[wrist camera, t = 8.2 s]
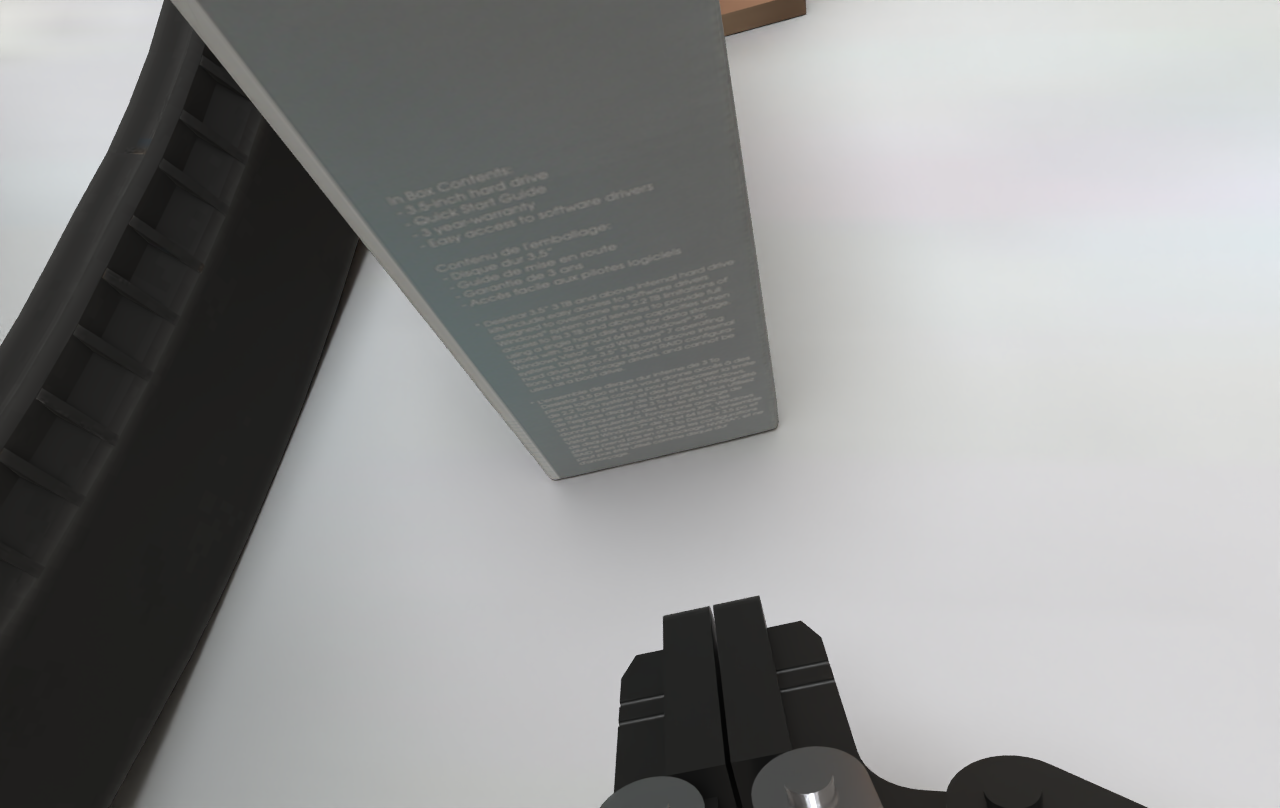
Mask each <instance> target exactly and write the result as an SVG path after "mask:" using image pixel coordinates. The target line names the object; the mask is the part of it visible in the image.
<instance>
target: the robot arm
mask: <svg viewBox="0 0 1280 808" xmlns="http://www.w3.org/2000/svg"><path fill="white" fill-rule="evenodd" d="M713 610H714V618H713V614H712V611H711V608H710V606H708V607H703V608H698V609H694V610H689V611H684V612H680V613H675V614H670V615H665V616H664V617H663V650H660V651H655V652H650V653H645V654H640V655H636V656H635V658H634V659H633V661H632V663H631V664H630V666H629V667H628V669H627V671H626V672H625V674H624V675H623V677H622V679H621V692H620V705H621V707H620V708H619V727H618V739H617V754H616V769H615V785H614V794H613V795H611V796H610V797H609V798H608V799H607V800H606V801H605V802H604V803H603V804H602V806H601V807H600V808H1147V807H1145V806H1143V805H1141V804H1138V803H1136V802H1134V801H1132V800H1129V799H1127V798H1125V797H1123V796H1120V795H1118V794H1116V793H1114V792H1111V791H1109V790H1107V789H1105V788H1102V787H1100V786H1098V785H1096V784H1093V783H1091V782H1089V781H1086V780H1084V779H1082V778H1080V777H1077V776H1075V775H1073V774H1071V773H1068V772H1066V771H1064V770H1062V769H1059V768H1057V767H1055V766H1053V765H1050V764H1048V763H1045V762H1043V761H1040V760H1037V759H1033V758H1028V757H1022V756H995V757H989V758H985V759H981V760H979V761H976V762H973V763H971V764H970V765H968V766H966V767H964V768H963V769H962V770H961V771H959V772H958V773H957V774H956V775H955V776H954V778H953V779H952V780H951V782H950V784H949V786H948V789H947V792H943V791H927V790H917V789H910V788H906V787H901V786H898V785H895V784H893V783H890V782H888V781H886V780H884V779H882V778H880V777H878V776H877V775H876V774H874V773H873V772H872V771H870V770H869V769H868V768H867V767H866V766H865V764H864V763H863V761H862V760H861V759H860V756H859V754H858V752H857V749H856V746H855V743H854V739H853V736H852V733H851V730H850V727H849V724H848V721H847V717H846V714H845V711H844V708H843V705H842V702H841V698H840V695H839V692H838V689H837V686H836V683H835V680H834V676H833V673H832V670H831V667H830V664H829V661H828V657H827V654H826V651H825V648H824V645H823V642H822V638H821V637H820V636H819V635H818V634H817V633H815V632H814V631H813V630H812V629H810V628H809V627H808V626H807V625H806V624H804V623H803V622H802V621H798V622H793V623H788V624H783V625H779V626H774V627H769V628H767V625H766V621H765V617H764V613H763V609H762V604H761V600H760V597H759V596H754V597H750V598H745V599H740V600H735V601H731V602H726V603H721V604H716V605H713ZM714 619H715V621H714Z"/></svg>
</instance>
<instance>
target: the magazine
mask: <svg viewBox="0 0 1280 808" xmlns="http://www.w3.org/2000/svg"><path fill="white" fill-rule="evenodd" d="M358 240H359V237H358V235H357V234H356V233H355V232H354V230H353V229H352V228H351V227H350V225H349V224H348V223H347V222H346V220H345V219H344V218H343V216H342V215H341V214H340V213H339V211H338V210H337V209H336V208H335V206H334V205H333V204H332V203H331V201H330V200H329V199H328V197H327V196H326V195H325V194H324V192H323V191H322V190H321V189H320V187H319V186H318V185H317V184H316V182H315V181H314V180H313V179H312V177H311V176H310V175H309V173H308V172H307V171H306V170H305V168H304V167H303V166H302V165H301V163H300V162H299V161H298V160H297V158H296V157H295V156H294V155H293V153H292V152H291V151H290V149H289V148H288V147H287V146H286V144H285V143H284V142H283V141H282V139H281V138H280V137H279V136H278V134H277V133H276V132H275V131H274V129H273V128H272V127H271V126H270V124H269V123H268V122H267V120H266V119H265V118H264V117H263V115H262V114H261V113H260V112H259V110H258V109H257V108H256V107H255V105H254V104H253V103H252V102H251V100H250V99H249V98H248V97H247V95H246V94H245V93H244V91H243V90H242V89H241V88H240V86H239V85H238V84H237V83H236V81H235V80H234V79H233V78H232V76H231V75H230V74H229V73H228V71H227V70H226V69H225V68H224V66H223V65H222V64H221V63H220V61H219V60H218V59H217V58H216V56H215V55H214V54H213V53H212V51H211V50H210V49H209V48H208V46H207V45H206V44H205V43H204V41H203V40H202V39H201V38H200V36H199V35H198V34H197V33H196V31H195V30H194V29H193V28H192V26H191V25H190V24H189V23H188V21H187V20H186V19H185V18H184V16H183V15H182V14H181V13H180V11H179V10H178V9H177V8H176V6H175V5H174V4H173V3H172V1H171V0H164V2H163V5H162V9H161V12H160V16H159V19H158V22H157V26H156V29H155V33H154V36H153V39H152V43H151V46H150V50H149V53H148V55H147V58H146V61H145V63H144V66H143V68H142V71H141V74H140V76H139V79H138V82H137V84H136V87H135V89H134V92H133V95H132V97H131V100H130V103H129V105H128V107H127V110H126V112H125V114H124V116H123V118H122V121H121V123H120V125H119V127H118V130H117V132H116V134H115V136H114V139H113V141H112V143H111V145H110V147H109V150H108V152H107V154H106V156H105V157H104V159H103V161H102V163H101V165H100V166H99V168H98V170H97V172H96V174H95V175H94V177H93V179H92V181H91V183H90V184H89V186H88V188H87V190H86V192H85V193H84V195H83V197H82V199H81V201H80V202H79V204H78V206H77V208H76V210H75V211H74V213H73V215H72V217H71V219H70V221H69V223H68V225H67V227H66V229H65V230H64V232H63V234H62V236H61V238H60V240H59V242H58V244H57V246H56V248H55V249H54V251H53V253H52V255H51V257H50V259H49V261H48V263H47V265H46V266H45V268H44V270H43V272H42V274H41V276H40V278H39V279H38V281H37V283H36V285H35V287H34V289H33V291H32V292H31V294H30V296H29V298H28V300H27V302H26V303H25V305H24V307H23V309H22V311H21V313H20V315H19V316H18V318H17V320H16V321H15V323H14V325H13V326H12V328H11V329H10V331H9V333H8V334H7V336H6V338H5V339H4V341H3V343H2V344H1V346H0V808H109V807H110V805H111V803H112V801H113V799H114V797H115V796H116V794H117V792H118V790H119V788H120V786H121V785H122V783H123V781H124V779H125V777H126V775H127V773H128V772H129V770H130V768H131V766H132V764H133V762H134V761H135V759H136V757H137V755H138V753H139V751H140V749H141V748H142V746H143V744H144V742H145V740H146V738H147V737H148V735H149V733H150V731H151V729H152V727H153V726H154V724H155V722H156V720H157V718H158V716H159V714H160V713H161V711H162V709H163V707H164V705H165V703H166V702H167V700H168V698H169V696H170V694H171V692H172V690H173V689H174V687H175V685H176V683H177V681H178V679H179V678H180V676H181V674H182V672H183V670H184V668H185V666H186V665H187V663H188V661H189V659H190V657H191V655H192V653H193V651H194V649H195V647H196V645H197V643H198V641H199V639H200V637H201V635H202V633H203V631H204V629H205V627H206V625H207V623H208V621H209V619H210V617H211V615H212V613H213V611H214V609H215V607H216V605H217V603H218V601H219V599H220V597H221V595H222V593H223V591H224V588H225V586H226V584H227V582H228V580H229V578H230V575H231V573H232V571H233V569H234V567H235V564H236V562H237V560H238V558H239V556H240V554H241V551H242V549H243V547H244V545H245V543H246V541H247V538H248V536H249V534H250V532H251V530H252V527H253V525H254V523H255V520H256V518H257V516H258V513H259V511H260V508H261V506H262V504H263V501H264V499H265V496H266V494H267V492H268V489H269V487H270V485H271V482H272V480H273V477H274V475H275V473H276V470H277V468H278V465H279V463H280V460H281V458H282V455H283V453H284V450H285V448H286V445H287V443H288V440H289V438H290V435H291V433H292V430H293V428H294V425H295V423H296V420H297V418H298V415H299V413H300V410H301V408H302V405H303V402H304V399H305V397H306V394H307V391H308V388H309V386H310V383H311V380H312V378H313V375H314V372H315V369H316V367H317V364H318V361H319V358H320V356H321V353H322V350H323V347H324V344H325V341H326V338H327V335H328V332H329V329H330V327H331V324H332V321H333V318H334V315H335V312H336V309H337V306H338V303H339V300H340V297H341V294H342V291H343V288H344V284H345V281H346V278H347V275H348V272H349V268H350V265H351V262H352V259H353V256H354V252H355V249H356V246H357V243H358Z"/></svg>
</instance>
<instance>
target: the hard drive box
mask: <svg viewBox="0 0 1280 808" xmlns="http://www.w3.org/2000/svg"><path fill="white" fill-rule="evenodd" d="M171 1H172V3H173V4H174V5H175V6H176V8H177V9H178V10H179V11H180V13H181V14H182V15H183V16H184V18H185V19H186V20H187V21H188V23H189V24H190V25H191V26H192V28H193V29H194V30H195V31H196V33H197V34H198V35H199V36H200V38H201V39H202V40H203V41H204V43H205V44H206V45H207V46H208V48H209V49H210V50H211V51H212V53H213V54H214V55H215V56H216V58H217V59H218V60H219V61H220V63H221V64H222V65H223V66H224V68H225V69H226V70H227V71H228V73H229V74H230V75H231V76H232V78H233V79H234V80H235V81H236V83H237V84H238V85H239V86H240V88H241V89H242V90H243V91H244V93H245V94H246V95H247V97H248V98H249V99H250V100H251V102H252V103H253V104H254V105H255V107H256V108H257V109H258V110H259V112H260V113H261V114H262V115H263V117H264V118H265V119H266V120H267V122H268V123H269V124H270V126H271V127H272V128H273V129H274V131H275V132H276V133H277V134H278V136H279V137H280V138H281V139H282V141H283V142H284V143H285V144H286V146H287V147H288V148H289V149H290V151H291V152H292V153H293V155H294V156H295V157H296V158H297V160H298V161H299V162H300V163H301V165H302V166H303V167H304V168H305V170H306V171H307V172H308V173H309V175H310V176H311V177H312V179H313V180H314V181H315V182H316V184H317V185H318V186H319V187H320V189H321V190H322V191H323V192H324V194H325V195H326V196H327V197H328V199H329V200H330V201H331V203H332V204H333V205H334V206H335V208H336V209H337V210H338V211H339V213H340V214H341V215H342V216H343V218H344V219H345V220H346V222H347V223H348V224H349V225H350V227H351V228H352V229H353V230H354V232H355V233H356V234H357V235H358V237H359V238H360V239H361V240H362V242H363V243H364V244H365V246H366V247H367V248H368V249H369V251H370V252H371V253H372V254H373V256H374V257H375V258H376V259H377V260H378V262H379V263H380V264H381V265H382V267H383V268H384V269H385V270H386V272H387V273H388V274H389V275H390V277H391V278H392V279H393V280H394V282H395V283H396V284H397V286H398V287H399V288H400V289H401V291H402V292H403V293H404V294H405V296H406V297H407V298H408V300H409V301H410V302H411V303H412V305H413V306H414V307H415V308H416V310H417V311H418V312H419V313H420V315H421V316H422V317H423V318H424V320H425V321H426V322H427V323H428V325H429V326H430V327H431V328H432V330H433V331H434V332H435V333H436V335H437V336H438V337H439V338H440V340H441V341H442V342H443V344H444V345H445V346H446V347H447V349H448V350H449V351H450V352H451V354H452V355H453V356H454V358H455V359H456V360H457V361H458V363H459V364H460V365H461V366H462V368H463V369H464V370H465V371H466V373H467V374H468V375H469V377H470V378H471V379H472V380H473V382H474V383H475V384H476V386H477V387H478V388H479V389H480V391H481V392H482V393H483V395H484V396H485V397H486V398H487V400H488V401H489V402H490V403H491V405H492V406H493V407H494V408H495V409H496V411H497V412H498V413H499V414H500V415H501V417H502V418H503V419H504V421H505V422H506V423H507V425H508V426H509V427H510V428H511V430H512V431H513V432H514V433H515V434H516V436H517V437H518V438H519V440H520V441H521V442H522V444H523V445H524V446H525V448H526V449H527V450H528V451H529V452H530V454H531V455H532V456H533V457H534V458H535V460H536V461H537V462H538V464H539V465H540V466H541V468H542V469H543V470H544V471H545V473H546V474H547V475H548V476H549V477H550V478H551V479H553V480H555V479H561V478H566V477H571V476H576V475H580V474H585V473H589V472H593V471H597V470H602V469H606V468H611V467H615V466H619V465H624V464H628V463H633V462H637V461H642V460H646V459H650V458H655V457H659V456H663V455H667V454H671V453H676V452H680V451H685V450H689V449H694V448H698V447H702V446H707V445H711V444H715V443H720V442H724V441H728V440H732V439H736V438H739V437H743V436H747V435H751V434H755V433H759V432H764V431H768V430H771V429H775V428H776V427H777V424H778V412H777V401H776V393H775V385H774V378H773V370H772V363H771V356H770V349H769V342H768V335H767V328H766V321H765V313H764V306H763V299H762V292H761V285H760V278H759V270H758V263H757V256H756V249H755V243H754V236H753V229H752V222H751V215H750V208H749V201H748V194H747V187H746V181H745V174H744V167H743V160H742V153H741V146H740V139H739V132H738V126H737V119H736V112H735V105H734V98H733V91H732V85H731V78H730V71H729V64H728V57H727V50H726V43H725V37H724V30H723V23H722V16H721V9H720V2H719V0H171Z"/></svg>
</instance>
